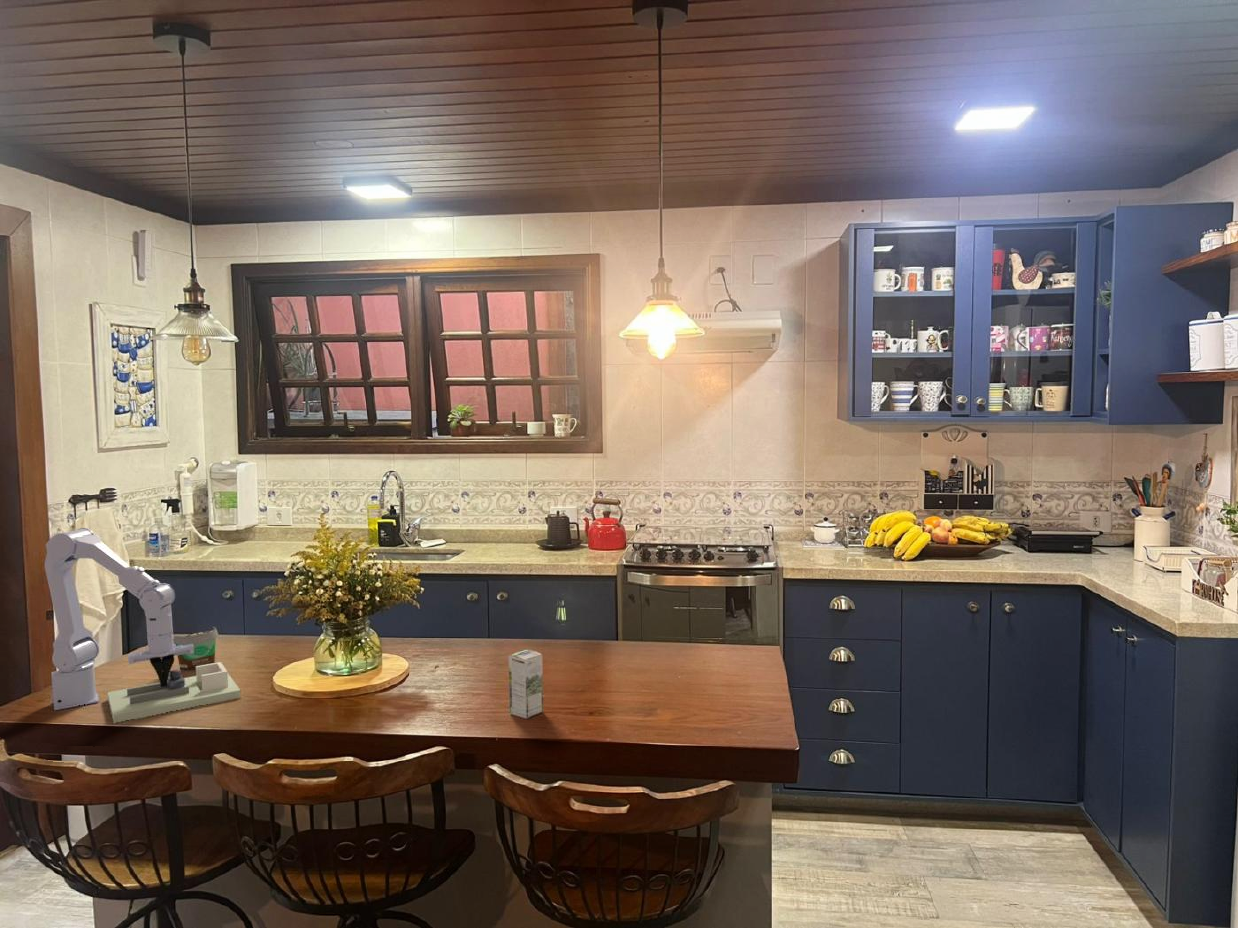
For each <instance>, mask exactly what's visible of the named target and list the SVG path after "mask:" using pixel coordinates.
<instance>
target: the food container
mask: <svg viewBox="0 0 1238 928" xmlns="http://www.w3.org/2000/svg"><path fill="white" fill-rule="evenodd" d="M212 627H213V628H212V629H210V630H207V631H200V632H194V633H190V634H188V635H186V636H179V635H178V636H176V635H173V641H174V645H175V646H181V645H190V644H193V646H194V653H191V654H189V653H187V654H181V655H177V660H178V665H179V669H180V671H196V666H201V665H206V664H212V663H216V662H215V660H216V642H217V641H216V638H218V636H219V632H218V630H217V628H216V627H215V626H212Z"/></svg>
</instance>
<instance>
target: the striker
mask: <svg viewBox="0 0 1238 928" xmlns="http://www.w3.org/2000/svg"><path fill="white" fill-rule="evenodd" d="M181 672H182V670H180V668H178V669H171V670H170V673H169V676H168V688H169V690H171V689H176V688H181V687H184V680H183V676H182V674H181Z"/></svg>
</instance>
